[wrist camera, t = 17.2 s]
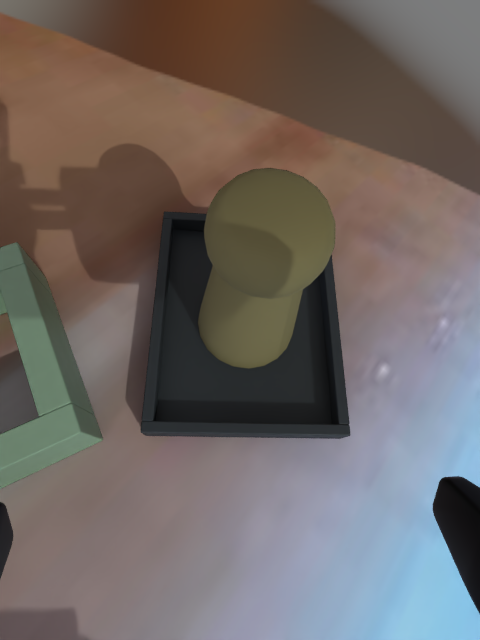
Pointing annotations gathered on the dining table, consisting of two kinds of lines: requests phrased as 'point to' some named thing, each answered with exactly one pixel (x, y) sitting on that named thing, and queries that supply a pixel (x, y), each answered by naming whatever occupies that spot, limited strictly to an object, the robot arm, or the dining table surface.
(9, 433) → the caddy
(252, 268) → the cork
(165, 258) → the tray
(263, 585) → the dining table surface
